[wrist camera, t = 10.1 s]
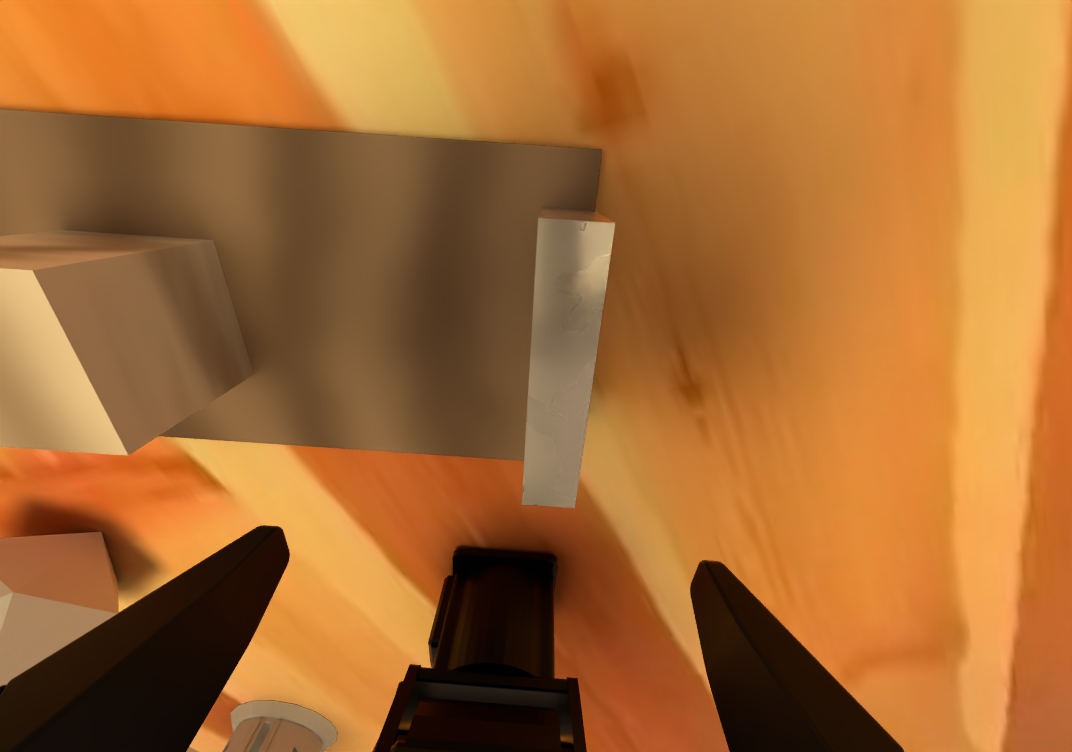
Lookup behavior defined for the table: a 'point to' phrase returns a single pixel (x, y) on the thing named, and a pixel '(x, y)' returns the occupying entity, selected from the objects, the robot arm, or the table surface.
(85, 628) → the die
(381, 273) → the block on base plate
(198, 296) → the cube
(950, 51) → the table surface
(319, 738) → the french press
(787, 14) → the table surface
